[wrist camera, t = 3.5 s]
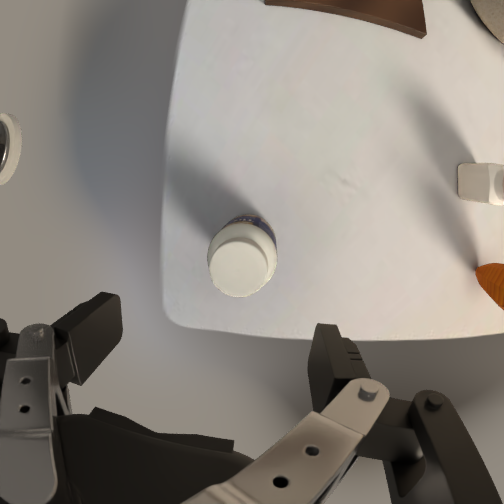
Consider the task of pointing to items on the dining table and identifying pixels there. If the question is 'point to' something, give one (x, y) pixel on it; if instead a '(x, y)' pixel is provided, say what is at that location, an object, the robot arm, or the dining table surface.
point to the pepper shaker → (481, 183)
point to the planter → (491, 15)
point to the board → (370, 12)
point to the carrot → (492, 281)
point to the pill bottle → (242, 256)
